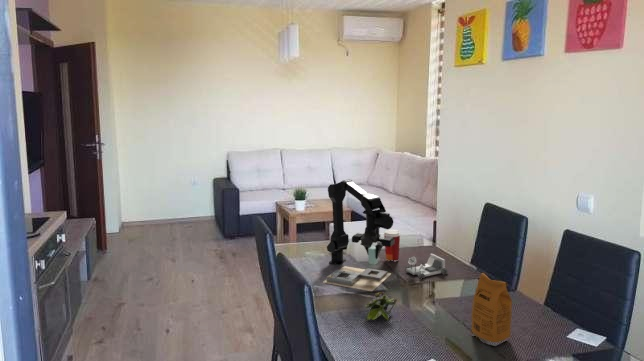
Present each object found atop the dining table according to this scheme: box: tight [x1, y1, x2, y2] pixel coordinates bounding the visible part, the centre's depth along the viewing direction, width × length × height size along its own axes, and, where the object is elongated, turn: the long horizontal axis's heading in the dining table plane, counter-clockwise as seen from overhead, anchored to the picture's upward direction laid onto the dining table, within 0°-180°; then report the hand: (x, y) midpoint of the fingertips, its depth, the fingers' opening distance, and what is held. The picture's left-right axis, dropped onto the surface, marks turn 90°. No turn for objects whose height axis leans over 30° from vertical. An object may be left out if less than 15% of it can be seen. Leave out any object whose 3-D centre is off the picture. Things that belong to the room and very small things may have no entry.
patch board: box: [322, 265, 392, 292], centre depth 231 cm, size 22×24×1 cm
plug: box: [367, 245, 379, 265], centre depth 231 cm, size 4×3×7 cm
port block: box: [326, 269, 361, 286], centre depth 229 cm, size 10×12×2 cm
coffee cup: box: [382, 229, 401, 261], centre depth 252 cm, size 8×8×15 cm
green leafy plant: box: [365, 292, 397, 323], centre depth 193 cm, size 11×11×12 cm
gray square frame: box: [361, 267, 389, 281], centre depth 233 cm, size 9×10×1 cm
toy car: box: [404, 253, 449, 279], centre depth 235 cm, size 18×10×12 cm
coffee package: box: [471, 272, 513, 342], centre depth 173 cm, size 10×12×22 cm
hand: (373, 258), depth 232 cm, fingers closed on plug, 3 cm apart
